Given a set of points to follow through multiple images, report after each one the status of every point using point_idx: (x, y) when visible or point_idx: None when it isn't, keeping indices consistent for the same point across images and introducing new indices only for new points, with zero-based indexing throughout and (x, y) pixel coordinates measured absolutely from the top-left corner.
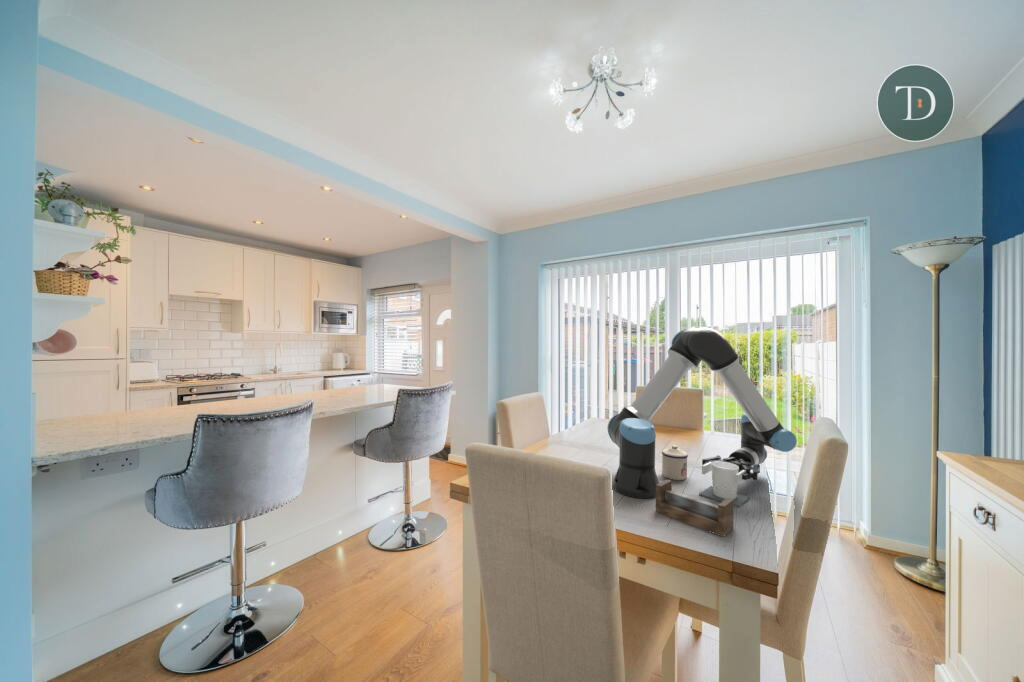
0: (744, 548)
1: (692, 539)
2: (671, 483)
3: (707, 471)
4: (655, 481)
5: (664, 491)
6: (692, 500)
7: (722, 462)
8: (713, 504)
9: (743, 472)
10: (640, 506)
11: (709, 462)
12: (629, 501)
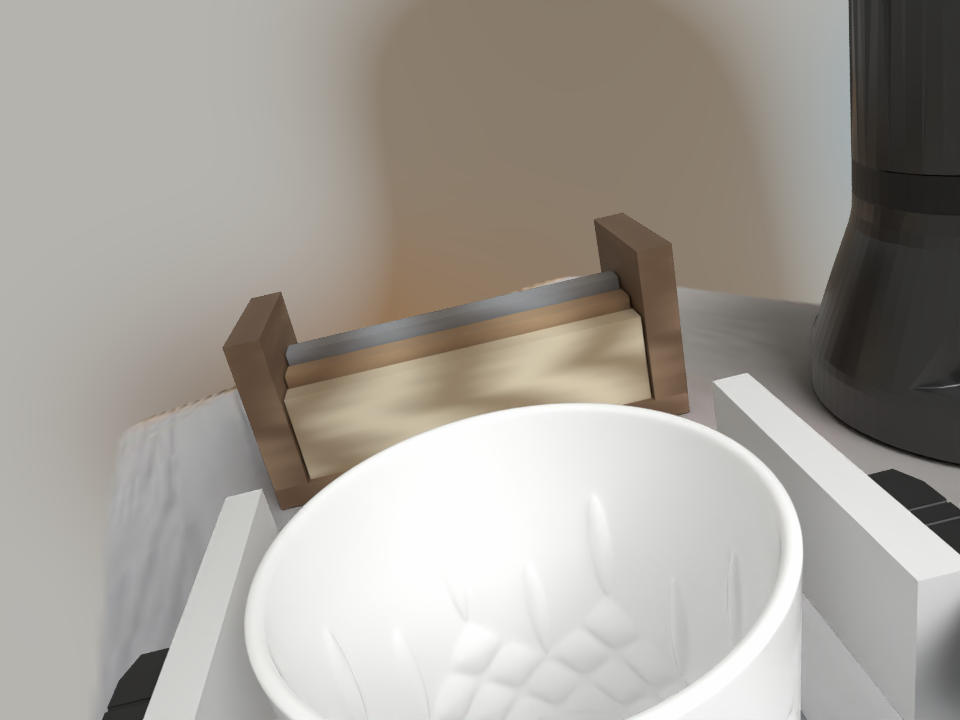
0: (206, 446)
1: None
2: (637, 269)
3: None
4: (855, 312)
5: (612, 272)
6: (445, 311)
7: (727, 672)
8: (362, 380)
9: (168, 672)
10: (721, 335)
11: (910, 531)
12: (799, 321)
